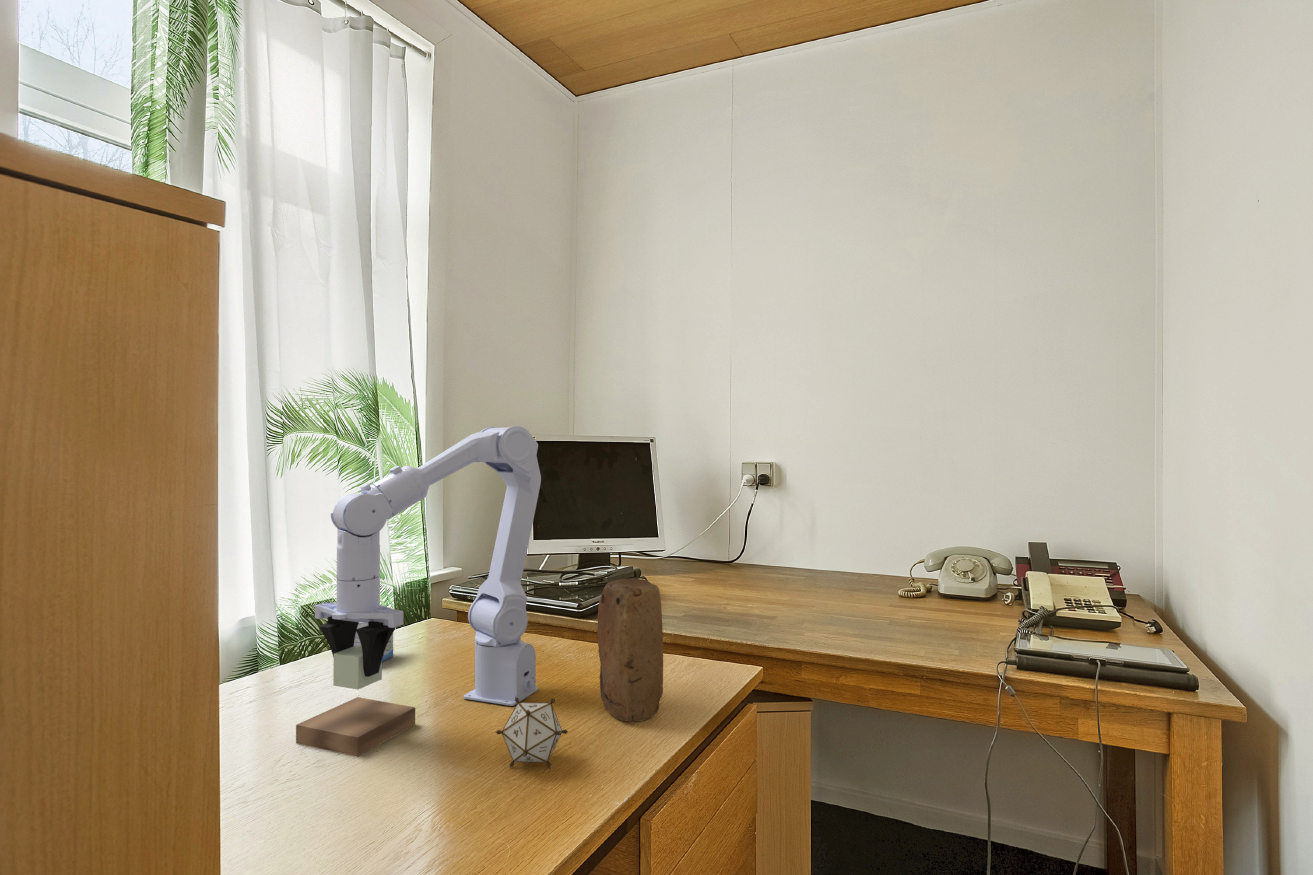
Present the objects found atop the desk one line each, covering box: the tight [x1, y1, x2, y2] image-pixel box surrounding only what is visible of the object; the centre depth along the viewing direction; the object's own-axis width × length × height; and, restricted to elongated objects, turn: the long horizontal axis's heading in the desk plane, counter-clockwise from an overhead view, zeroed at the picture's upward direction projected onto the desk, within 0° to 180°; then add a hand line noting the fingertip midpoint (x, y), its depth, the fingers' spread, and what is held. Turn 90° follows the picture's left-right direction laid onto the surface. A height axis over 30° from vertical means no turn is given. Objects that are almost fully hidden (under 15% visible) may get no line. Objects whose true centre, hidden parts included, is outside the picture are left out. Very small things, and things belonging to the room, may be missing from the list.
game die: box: [494, 697, 569, 770], centre depth 88 cm, size 9×8×10 cm
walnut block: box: [295, 696, 416, 757], centre depth 97 cm, size 11×11×3 cm
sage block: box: [332, 645, 383, 690], centre depth 98 cm, size 4×4×4 cm
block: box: [596, 577, 664, 723], centre depth 105 cm, size 11×8×20 cm
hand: (358, 672), depth 98 cm, fingers closed on sage block, 4 cm apart
